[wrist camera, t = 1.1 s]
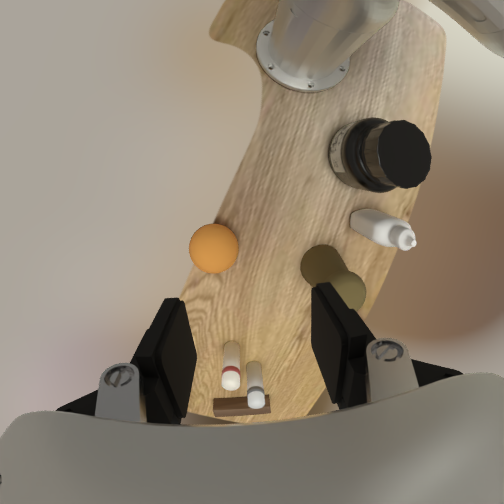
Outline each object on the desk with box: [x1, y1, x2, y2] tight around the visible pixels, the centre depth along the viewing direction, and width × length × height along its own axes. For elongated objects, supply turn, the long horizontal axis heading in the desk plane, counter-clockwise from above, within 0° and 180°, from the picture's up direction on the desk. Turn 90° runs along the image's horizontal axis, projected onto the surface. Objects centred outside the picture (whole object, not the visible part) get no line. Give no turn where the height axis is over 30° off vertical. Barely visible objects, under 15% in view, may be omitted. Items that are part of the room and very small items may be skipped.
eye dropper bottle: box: [350, 209, 416, 251], centre depth 30 cm, size 4×6×12 cm
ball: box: [189, 224, 239, 273], centre depth 33 cm, size 6×6×6 cm
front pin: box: [222, 341, 240, 390], centre depth 37 cm, size 2×2×8 cm
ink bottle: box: [329, 118, 431, 193], centre depth 27 cm, size 10×9×12 cm
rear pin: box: [247, 361, 265, 409], centre depth 38 cm, size 2×2×8 cm
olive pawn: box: [300, 245, 366, 312], centre depth 32 cm, size 6×6×11 cm
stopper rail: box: [213, 395, 271, 417], centre depth 43 cm, size 2×10×3 cm, turn 95°
